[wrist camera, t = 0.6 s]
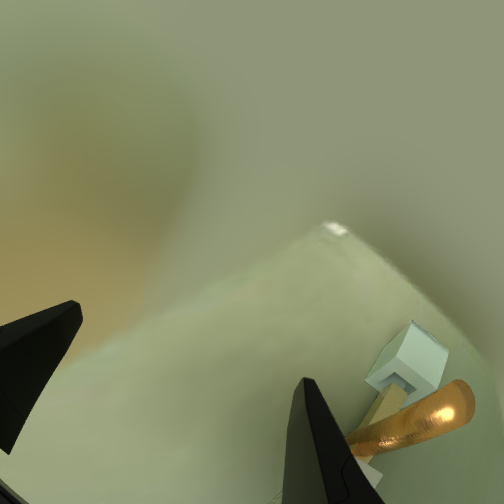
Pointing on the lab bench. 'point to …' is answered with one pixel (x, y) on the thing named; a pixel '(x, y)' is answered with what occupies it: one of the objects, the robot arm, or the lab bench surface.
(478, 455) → the lab bench surface
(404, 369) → the green socket
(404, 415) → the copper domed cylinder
